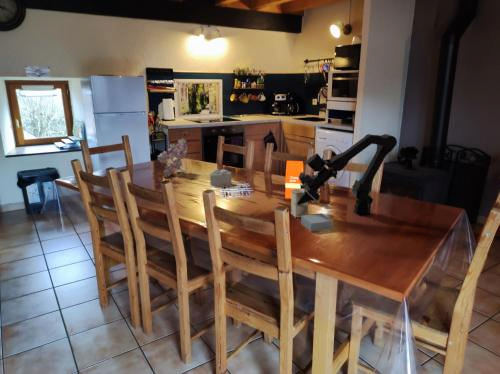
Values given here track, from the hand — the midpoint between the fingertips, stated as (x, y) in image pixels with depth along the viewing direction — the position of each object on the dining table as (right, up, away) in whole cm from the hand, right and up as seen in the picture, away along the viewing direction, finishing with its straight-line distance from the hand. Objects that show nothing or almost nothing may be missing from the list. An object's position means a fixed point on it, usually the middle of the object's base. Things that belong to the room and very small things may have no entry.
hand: (296, 201), depth 172 cm
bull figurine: (+11, -1, +20) cm, 23 cm away
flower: (-74, +15, +81) cm, 111 cm away
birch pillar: (+1, -6, +2) cm, 7 cm away
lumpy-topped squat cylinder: (-40, +8, +56) cm, 70 cm away
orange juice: (+2, +1, +30) cm, 30 cm away
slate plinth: (+7, -11, -12) cm, 17 cm away
